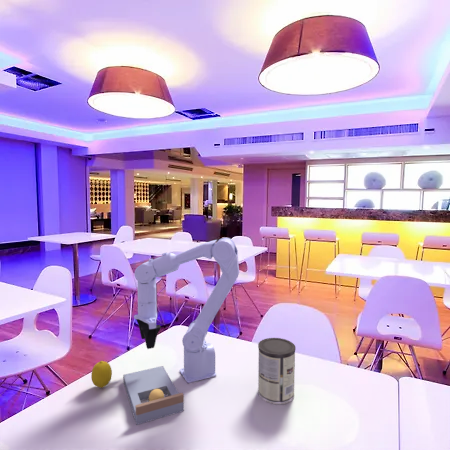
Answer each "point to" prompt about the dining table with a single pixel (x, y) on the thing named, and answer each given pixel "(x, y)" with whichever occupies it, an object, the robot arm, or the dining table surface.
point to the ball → (156, 394)
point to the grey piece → (140, 390)
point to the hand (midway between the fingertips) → (147, 342)
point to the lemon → (101, 374)
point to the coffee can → (276, 370)
